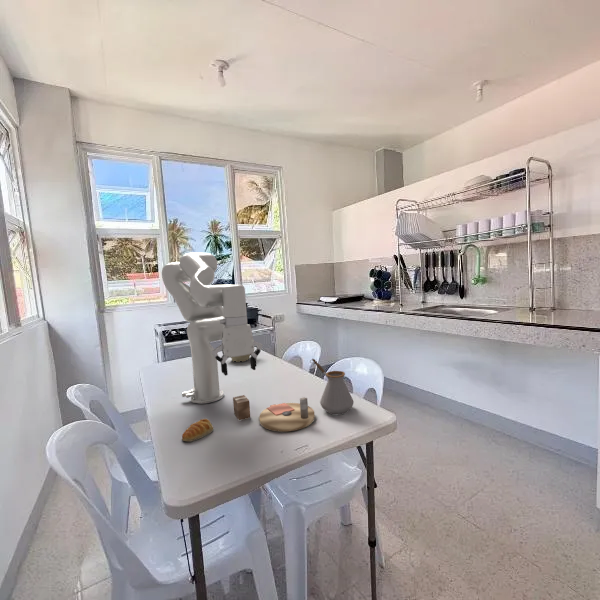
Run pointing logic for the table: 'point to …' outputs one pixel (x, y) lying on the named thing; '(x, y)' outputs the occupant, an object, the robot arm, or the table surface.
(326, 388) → the coffee pot
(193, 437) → the pastry
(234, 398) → the cardboard box
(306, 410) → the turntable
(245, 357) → the planter bowl
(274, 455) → the table surface
